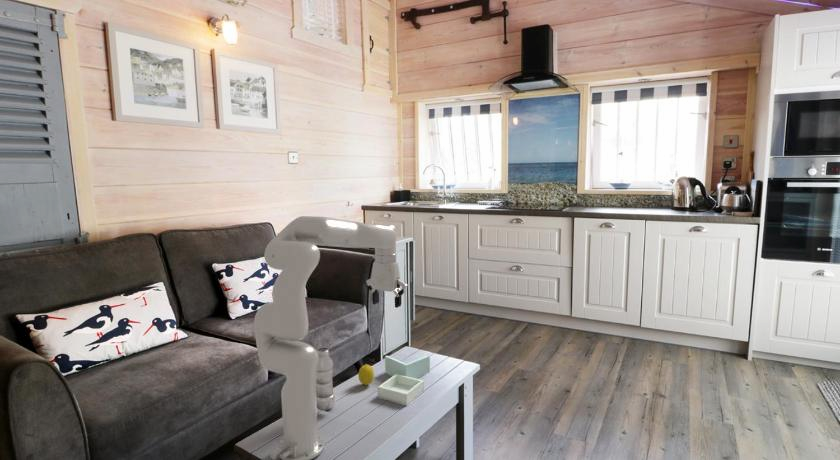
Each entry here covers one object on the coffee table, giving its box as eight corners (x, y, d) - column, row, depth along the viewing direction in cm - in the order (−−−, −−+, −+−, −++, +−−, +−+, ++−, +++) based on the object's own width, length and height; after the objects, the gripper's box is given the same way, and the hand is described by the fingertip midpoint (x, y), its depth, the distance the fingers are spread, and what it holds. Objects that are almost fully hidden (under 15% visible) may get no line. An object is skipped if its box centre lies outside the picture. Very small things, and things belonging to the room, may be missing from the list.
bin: (406, 405, 149) (406, 394, 149) (378, 397, 155) (377, 386, 154) (424, 391, 159) (424, 380, 159) (396, 384, 165) (396, 373, 164)
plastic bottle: (338, 404, 151) (336, 346, 148) (329, 414, 144) (327, 354, 142) (321, 402, 152) (319, 345, 150) (311, 412, 146) (308, 352, 144)
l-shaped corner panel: (429, 375, 173) (429, 356, 172) (406, 385, 164) (405, 365, 164) (408, 366, 181) (408, 348, 180) (385, 375, 173) (385, 356, 172)
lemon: (375, 382, 167) (374, 361, 166) (372, 389, 161) (371, 367, 160) (360, 381, 167) (360, 361, 166) (357, 388, 162) (356, 367, 161)
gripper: (360, 258, 164) (361, 304, 166) (400, 262, 155) (401, 310, 157) (372, 255, 170) (373, 299, 172) (411, 258, 162) (412, 305, 164)
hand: (386, 305), depth 165 cm, fingers open, 9 cm apart
